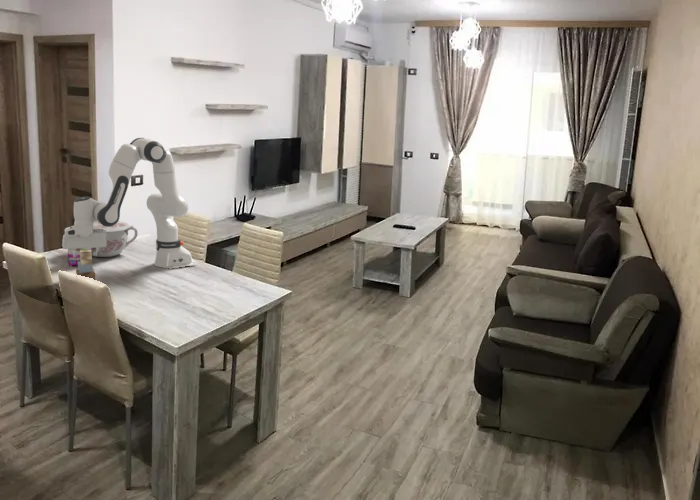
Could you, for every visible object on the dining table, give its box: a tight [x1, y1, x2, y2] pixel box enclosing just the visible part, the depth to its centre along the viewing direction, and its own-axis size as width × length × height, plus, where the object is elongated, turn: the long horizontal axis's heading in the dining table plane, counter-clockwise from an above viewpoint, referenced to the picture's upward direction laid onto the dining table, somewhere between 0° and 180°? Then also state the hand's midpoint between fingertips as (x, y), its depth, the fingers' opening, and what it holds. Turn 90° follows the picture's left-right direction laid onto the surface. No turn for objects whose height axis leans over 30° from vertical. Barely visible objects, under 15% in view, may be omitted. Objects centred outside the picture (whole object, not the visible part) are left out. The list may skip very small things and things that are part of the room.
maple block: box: [80, 250, 93, 265], centre depth 305 cm, size 5×5×6 cm
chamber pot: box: [91, 221, 139, 258], centre depth 346 cm, size 28×28×21 cm
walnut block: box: [75, 268, 96, 280], centre depth 308 cm, size 8×8×4 cm
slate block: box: [77, 262, 94, 273], centre depth 307 cm, size 6×6×4 cm
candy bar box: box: [67, 248, 91, 267], centre depth 325 cm, size 11×5×16 cm, turn 105°
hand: (85, 256), depth 305 cm, fingers open, 8 cm apart
